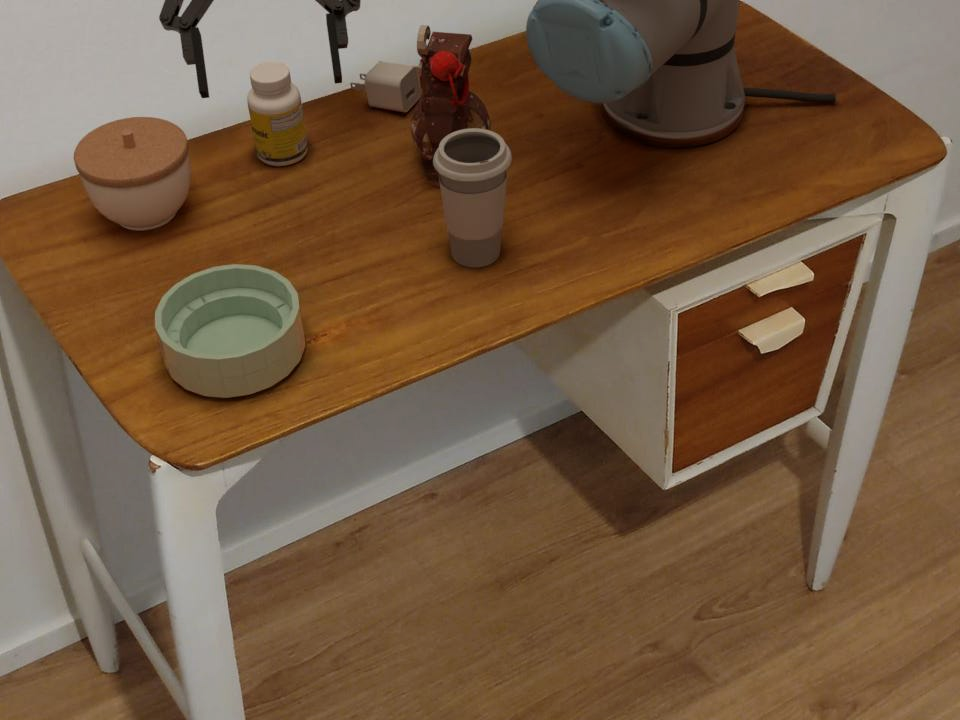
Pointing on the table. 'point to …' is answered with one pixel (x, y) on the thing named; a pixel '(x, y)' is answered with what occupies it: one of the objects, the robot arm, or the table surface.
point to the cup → (473, 193)
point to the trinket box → (135, 171)
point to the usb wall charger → (391, 86)
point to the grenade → (444, 95)
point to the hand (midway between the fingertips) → (271, 87)
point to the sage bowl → (230, 330)
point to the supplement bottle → (276, 115)
